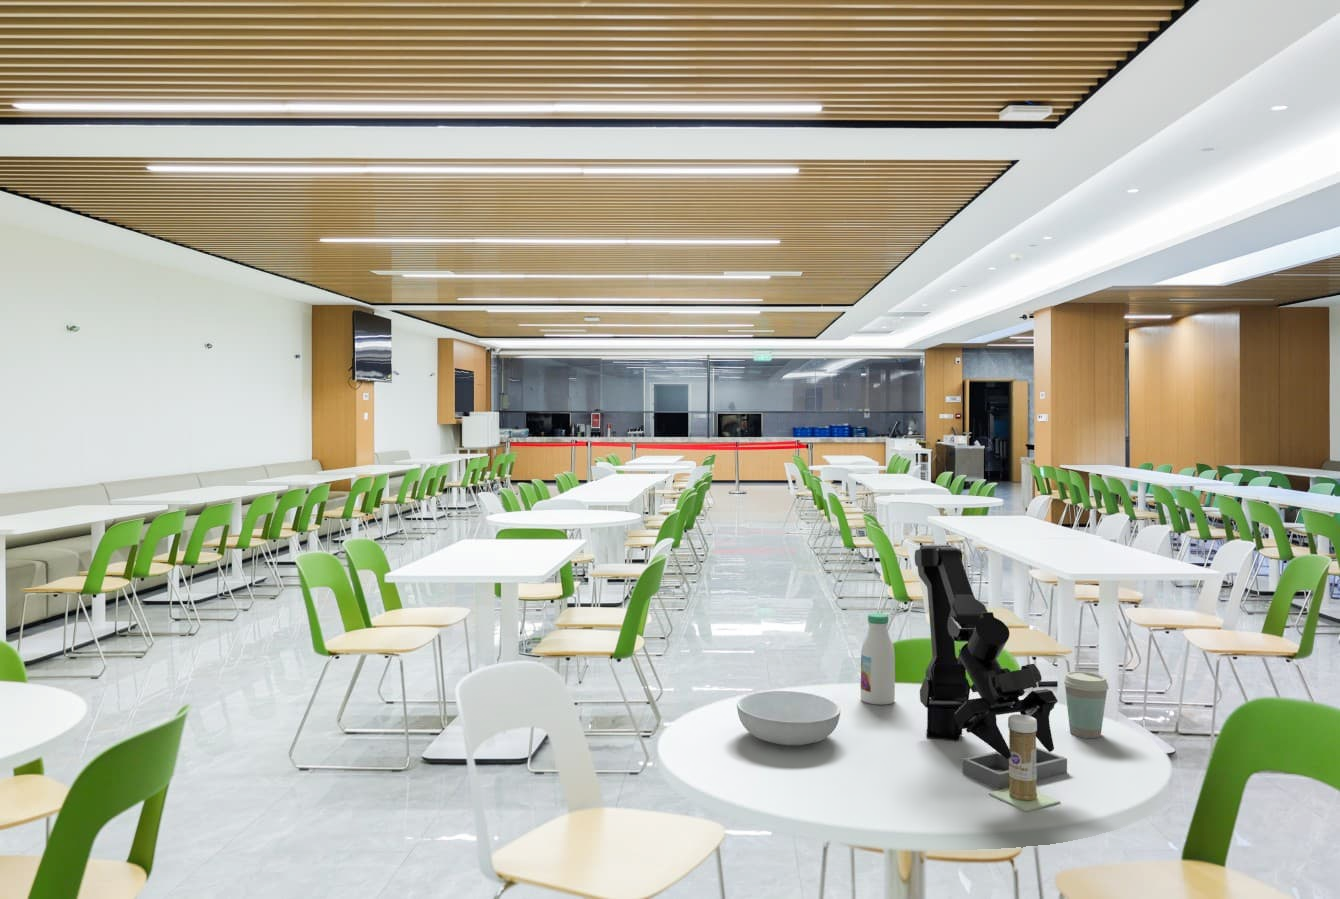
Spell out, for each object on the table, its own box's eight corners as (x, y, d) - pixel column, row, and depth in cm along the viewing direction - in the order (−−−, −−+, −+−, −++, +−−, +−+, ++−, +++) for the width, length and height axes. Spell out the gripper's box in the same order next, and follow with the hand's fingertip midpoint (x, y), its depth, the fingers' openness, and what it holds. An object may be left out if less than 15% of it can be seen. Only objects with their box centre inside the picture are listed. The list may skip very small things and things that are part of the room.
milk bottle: (896, 697, 213) (896, 612, 212) (892, 707, 205) (893, 619, 205) (862, 694, 215) (863, 610, 215) (858, 703, 208) (859, 616, 208)
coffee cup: (1113, 742, 182) (1114, 683, 182) (1068, 739, 184) (1068, 680, 184) (1101, 728, 191) (1102, 671, 191) (1058, 725, 193) (1059, 669, 192)
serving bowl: (793, 765, 170) (793, 728, 170) (715, 736, 185) (715, 703, 185) (861, 740, 183) (861, 706, 183) (783, 715, 199) (783, 684, 199)
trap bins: (1029, 757, 174) (1029, 744, 174) (1066, 772, 166) (1067, 758, 166) (962, 772, 166) (962, 758, 166) (998, 788, 158) (999, 774, 158)
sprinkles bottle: (1005, 797, 154) (1003, 718, 154) (1014, 788, 158) (1013, 711, 157) (1032, 803, 151) (1031, 723, 151) (1041, 795, 155) (1040, 716, 154)
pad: (1022, 786, 160) (1022, 784, 160) (1060, 802, 152) (1060, 801, 152) (989, 794, 156) (989, 792, 156) (1026, 811, 149) (1026, 810, 149)
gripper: (965, 653, 154) (1012, 738, 144) (1050, 643, 161) (1100, 724, 151) (935, 687, 161) (977, 770, 151) (1017, 676, 168) (1063, 755, 158)
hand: (1030, 754), depth 153 cm, fingers open, 9 cm apart
